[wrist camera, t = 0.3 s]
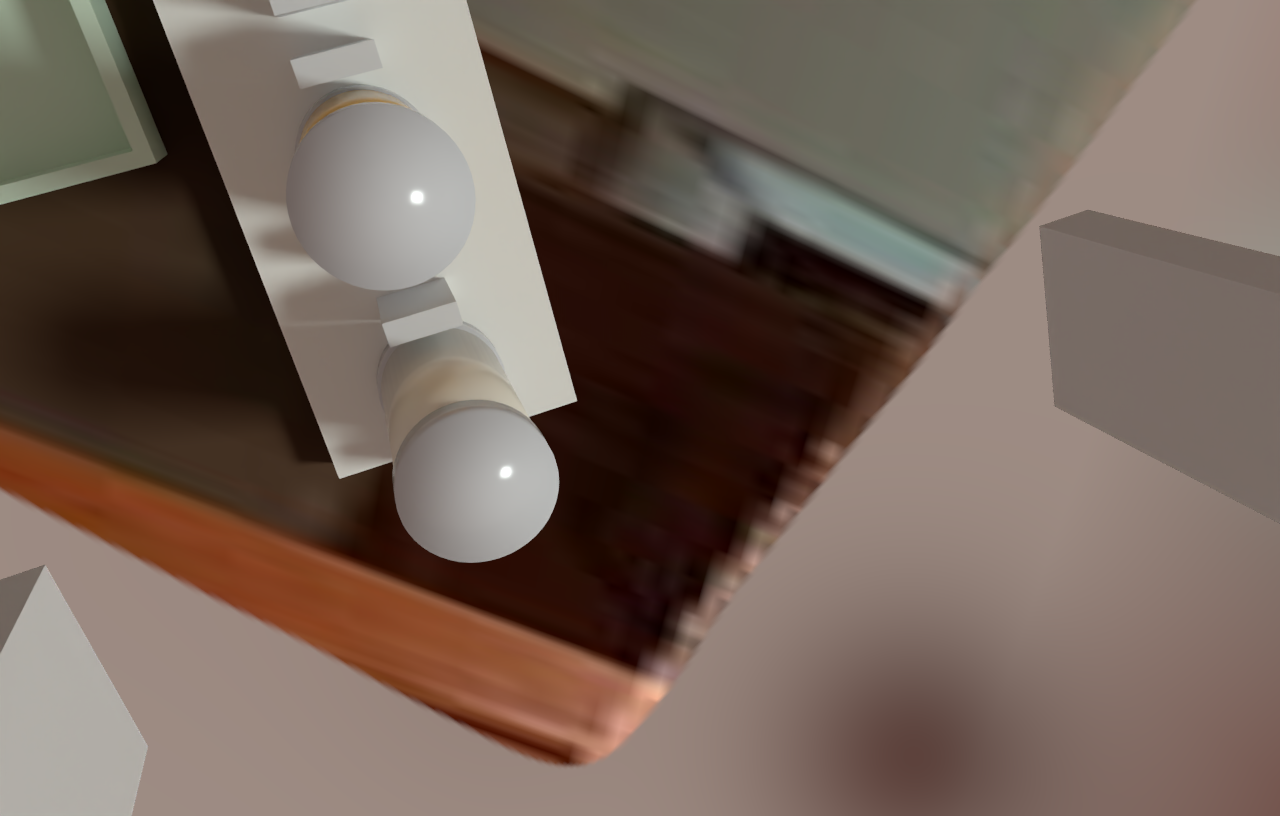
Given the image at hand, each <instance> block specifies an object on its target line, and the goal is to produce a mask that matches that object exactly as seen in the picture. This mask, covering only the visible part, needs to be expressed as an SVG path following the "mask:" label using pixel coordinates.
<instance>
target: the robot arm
mask: <svg viewBox="0 0 1280 816" xmlns="http://www.w3.org/2000/svg"><path fill="white" fill-rule="evenodd" d="M1040 238H1041V249H1042V250H1041V251H1042V262H1043V273H1044V285H1045V298H1046V309H1047V321H1048V333H1049V345H1050V357H1051V368H1052V380H1053V392H1054V404H1055V407H1057V408H1059V409H1061V410H1063V411H1065V412H1067V413H1068V414H1070V415H1072V416H1074V417H1076V418H1078V419H1080V420H1082V421H1084V422H1086V423H1088V424H1090V425H1092V426H1093V427H1096V428H1098V429H1099V430H1101V431H1103V432H1105V433H1107V434H1109V435H1111V436H1113V437H1115V438H1116V439H1118V440H1120V441H1123V442H1124V443H1126V444H1128V445H1130V446H1132V447H1134V448H1136V449H1138V450H1140V451H1141V452H1143V453H1145V454H1147V455H1149V456H1151V457H1153V458H1155V459H1157V460H1159V461H1161V462H1162V463H1165V464H1166V465H1168V466H1170V467H1172V468H1174V469H1176V470H1178V471H1180V472H1182V473H1184V474H1186V475H1187V476H1189V477H1191V478H1193V479H1195V480H1197V481H1199V482H1201V483H1203V484H1205V485H1207V486H1209V487H1210V488H1213V489H1215V490H1216V491H1218V492H1220V493H1222V494H1224V495H1226V496H1228V497H1230V498H1232V499H1233V500H1235V501H1237V502H1239V503H1241V504H1243V505H1245V506H1247V507H1249V508H1251V509H1253V510H1255V511H1257V512H1258V513H1260V514H1262V515H1264V516H1266V517H1268V518H1270V519H1272V520H1274V521H1276V522H1278V523H1279V524H1280V256H1275V255H1272V254H1267V253H1263V252H1259V251H1254V250H1251V249H1247V248H1243V247H1239V246H1235V245H1231V244H1226V243H1222V242H1218V241H1214V240H1209V239H1206V238H1202V237H1197V236H1194V235H1189V234H1185V233H1181V232H1177V231H1173V230H1169V229H1165V228H1161V227H1157V226H1152V225H1148V224H1144V223H1140V222H1136V221H1132V220H1128V219H1124V218H1120V217H1115V216H1111V215H1107V214H1103V213H1099V212H1095V211H1091V210H1086V211H1083V212H1080V213H1077V214H1074V215H1071V216H1068V217H1065V218H1063V219H1059V220H1057V221H1054V222H1051V223H1048V224H1045V225H1042V226H1040ZM147 748H148V746H147V744H146V742H145V740H144V739H143V737H142V735H141V733H140V732H139V730H138V728H137V726H136V724H135V723H134V721H133V719H132V717H131V716H130V714H129V712H128V710H127V709H126V707H125V705H124V703H123V701H122V700H121V698H120V696H119V695H118V693H117V691H116V689H115V687H114V685H113V684H112V682H111V680H110V678H109V677H108V675H107V673H106V671H105V670H104V668H103V666H102V664H101V662H100V661H99V659H98V657H97V655H96V654H95V652H94V650H93V648H92V647H91V645H90V643H89V641H88V639H87V638H86V636H85V634H84V632H83V631H82V629H81V627H80V625H79V624H78V622H77V620H76V618H75V617H74V615H73V613H72V611H71V609H70V608H69V606H68V604H67V602H66V601H65V599H64V597H63V595H62V594H61V592H60V590H59V588H58V586H57V585H56V583H55V581H54V579H53V578H52V576H51V574H50V572H49V571H48V569H47V567H46V565H43V566H40V567H37V568H34V569H31V570H28V571H25V572H22V573H19V574H16V575H13V576H11V577H8V578H5V579H2V580H0V816H132V812H133V808H134V804H135V799H136V795H137V791H138V786H139V782H140V778H141V774H142V769H143V765H144V761H145V757H146V753H147Z"/></svg>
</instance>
